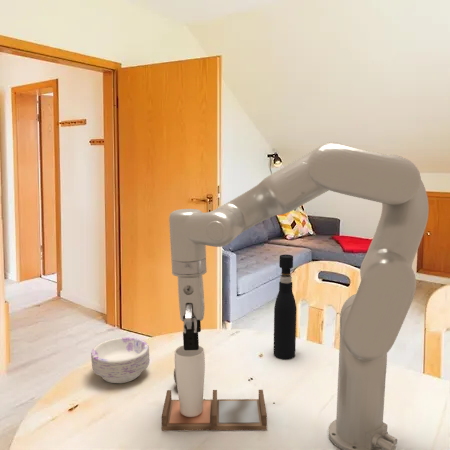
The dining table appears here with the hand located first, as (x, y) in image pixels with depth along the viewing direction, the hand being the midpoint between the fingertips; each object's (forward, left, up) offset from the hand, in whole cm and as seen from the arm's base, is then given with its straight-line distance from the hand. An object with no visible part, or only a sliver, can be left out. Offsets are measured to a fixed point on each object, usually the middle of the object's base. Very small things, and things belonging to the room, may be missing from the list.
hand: (192, 340), depth 109 cm
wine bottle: (+11, -39, -19) cm, 45 cm away
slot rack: (-3, -4, -19) cm, 19 cm away
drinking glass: (0, 0, -18) cm, 18 cm away
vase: (+12, -6, -19) cm, 23 cm away
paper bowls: (+28, +5, -19) cm, 34 cm away
